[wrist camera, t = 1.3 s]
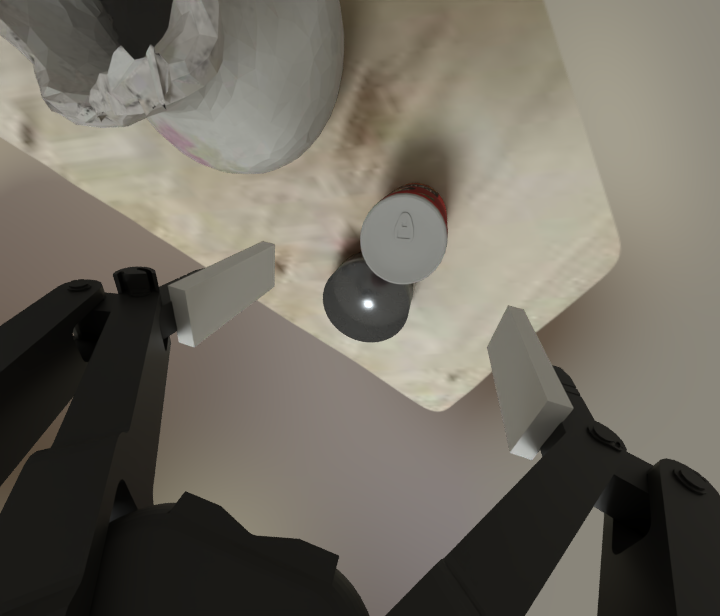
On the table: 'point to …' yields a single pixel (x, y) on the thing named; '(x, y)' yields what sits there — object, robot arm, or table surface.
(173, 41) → the ceramic pitcher
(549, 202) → the table surface
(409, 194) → the canned food
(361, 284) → the pedestal
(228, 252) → the table surface
